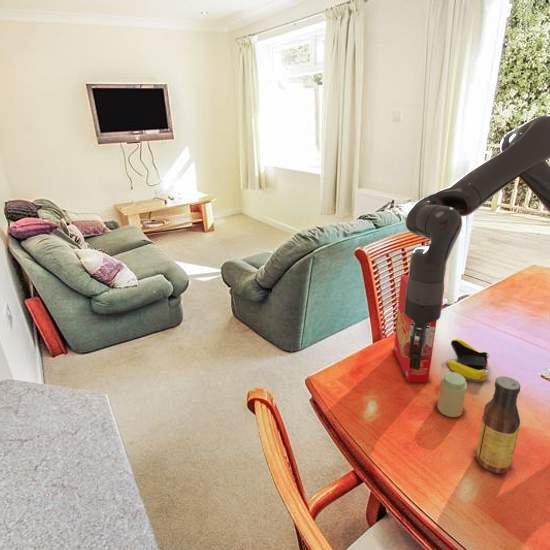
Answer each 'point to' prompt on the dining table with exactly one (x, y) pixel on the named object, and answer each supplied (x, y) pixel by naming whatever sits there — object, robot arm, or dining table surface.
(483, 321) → the dining table surface
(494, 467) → the sauce bottle
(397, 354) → the food packaging
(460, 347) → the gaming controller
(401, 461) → the dining table surface
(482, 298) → the dining table surface
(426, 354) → the lid
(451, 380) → the jar
